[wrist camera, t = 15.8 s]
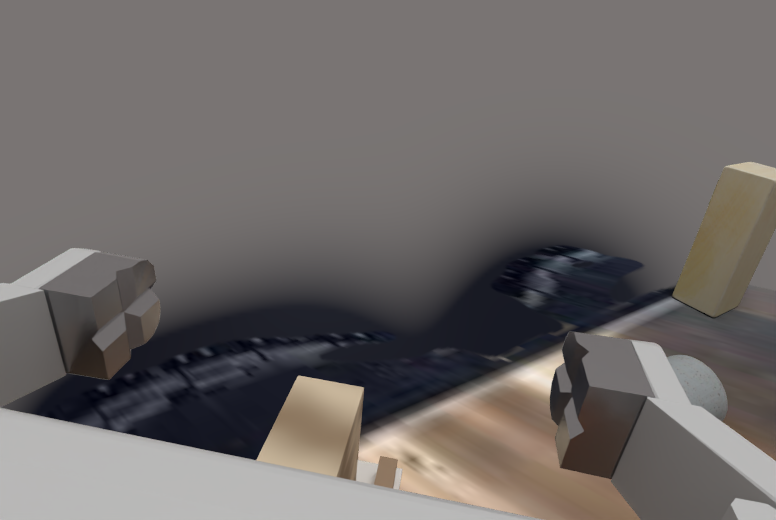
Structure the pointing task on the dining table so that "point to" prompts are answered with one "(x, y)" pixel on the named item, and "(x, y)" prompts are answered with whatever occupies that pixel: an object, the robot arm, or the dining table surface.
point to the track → (380, 473)
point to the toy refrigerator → (730, 239)
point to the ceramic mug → (700, 384)
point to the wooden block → (317, 429)
